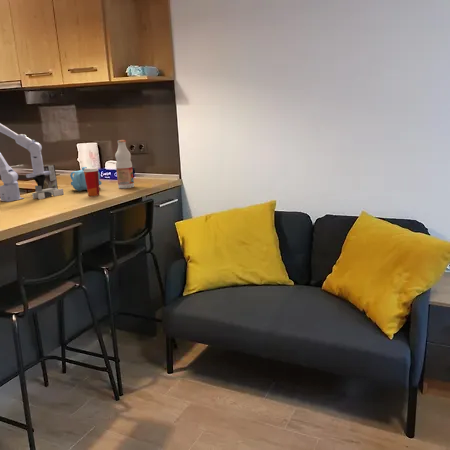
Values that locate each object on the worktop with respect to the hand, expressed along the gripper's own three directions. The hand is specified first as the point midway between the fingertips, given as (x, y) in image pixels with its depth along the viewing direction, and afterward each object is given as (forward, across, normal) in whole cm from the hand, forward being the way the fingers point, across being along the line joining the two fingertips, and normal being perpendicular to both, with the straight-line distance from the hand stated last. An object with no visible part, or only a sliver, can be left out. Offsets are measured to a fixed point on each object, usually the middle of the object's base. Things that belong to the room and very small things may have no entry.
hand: (41, 189), depth 258 cm
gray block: (+5, +3, 0) cm, 6 cm away
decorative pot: (+5, +28, -4) cm, 29 cm away
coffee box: (+5, +13, +12) cm, 18 cm away
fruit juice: (+5, +42, -23) cm, 48 cm away
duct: (+5, +4, 0) cm, 6 cm away
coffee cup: (+5, +16, -24) cm, 29 cm away
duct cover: (+1, +2, 0) cm, 3 cm away
